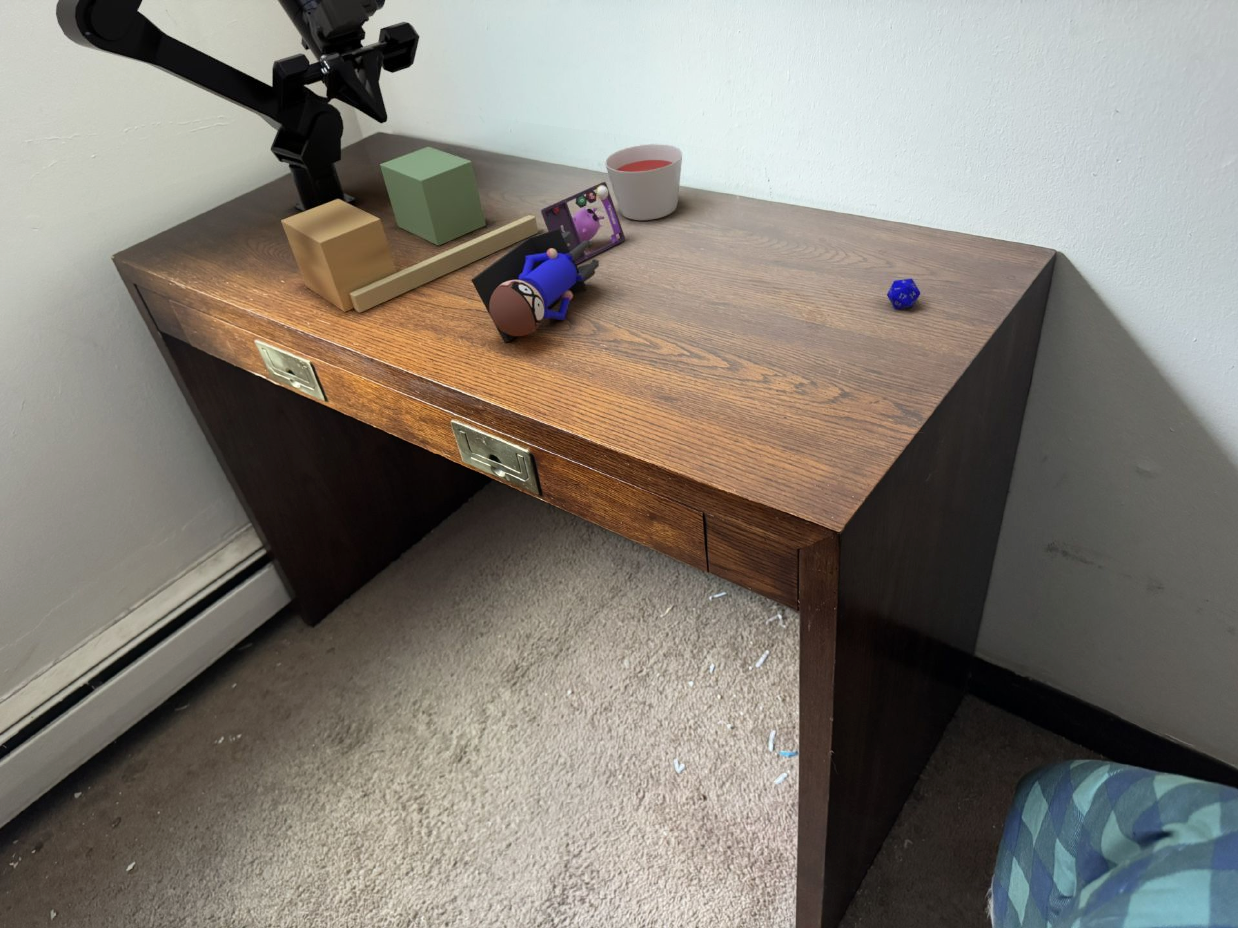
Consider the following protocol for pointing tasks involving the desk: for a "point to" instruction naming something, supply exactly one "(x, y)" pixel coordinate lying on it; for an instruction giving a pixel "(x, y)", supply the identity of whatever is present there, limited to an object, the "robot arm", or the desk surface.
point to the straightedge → (442, 264)
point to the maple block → (339, 250)
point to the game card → (583, 219)
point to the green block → (434, 194)
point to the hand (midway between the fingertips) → (384, 120)
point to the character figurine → (533, 282)
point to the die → (903, 293)
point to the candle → (646, 180)
